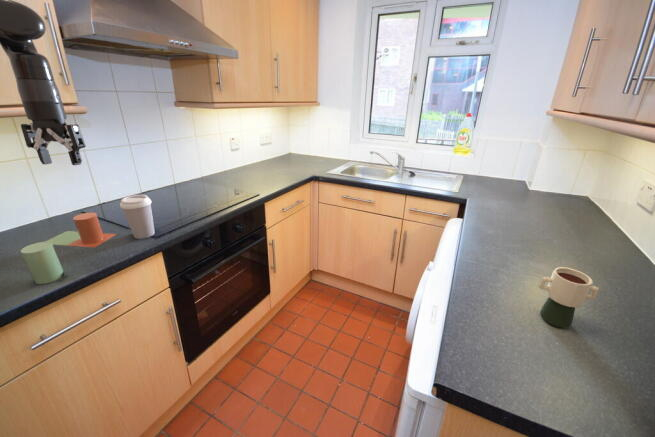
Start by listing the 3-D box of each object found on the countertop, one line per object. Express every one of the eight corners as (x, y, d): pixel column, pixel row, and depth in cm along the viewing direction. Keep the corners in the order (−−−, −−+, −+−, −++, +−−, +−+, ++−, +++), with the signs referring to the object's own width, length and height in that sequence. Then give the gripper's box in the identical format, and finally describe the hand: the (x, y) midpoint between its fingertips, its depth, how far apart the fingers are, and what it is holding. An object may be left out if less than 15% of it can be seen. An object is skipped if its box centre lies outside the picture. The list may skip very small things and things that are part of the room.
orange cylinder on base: (94, 244, 101) (85, 220, 97) (76, 243, 102) (67, 219, 98) (108, 235, 107) (101, 213, 103) (92, 234, 107) (84, 212, 104)
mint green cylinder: (49, 285, 82) (35, 253, 78) (28, 283, 82) (13, 252, 78) (70, 272, 88) (58, 242, 84) (50, 270, 88) (37, 240, 84)
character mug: (576, 316, 73) (596, 272, 68) (587, 337, 67) (610, 290, 62) (525, 305, 77) (540, 262, 72) (531, 323, 71) (548, 278, 66)
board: (95, 249, 100) (94, 247, 99) (41, 246, 101) (40, 243, 101) (117, 236, 109) (116, 234, 108) (67, 233, 110) (66, 230, 110)
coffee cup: (165, 233, 111) (156, 195, 105) (143, 245, 103) (132, 204, 97) (146, 229, 114) (137, 192, 108) (123, 240, 106) (111, 200, 100)
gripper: (-1, 99, 71) (23, 166, 77) (54, 99, 70) (75, 167, 76) (30, 99, 78) (50, 161, 84) (81, 100, 77) (98, 162, 83)
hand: (62, 164), depth 80 cm, fingers open, 8 cm apart
